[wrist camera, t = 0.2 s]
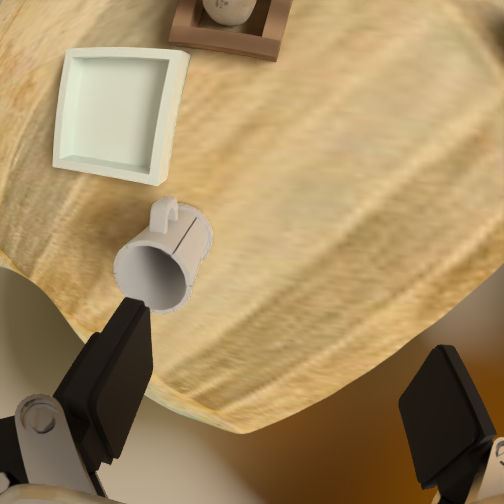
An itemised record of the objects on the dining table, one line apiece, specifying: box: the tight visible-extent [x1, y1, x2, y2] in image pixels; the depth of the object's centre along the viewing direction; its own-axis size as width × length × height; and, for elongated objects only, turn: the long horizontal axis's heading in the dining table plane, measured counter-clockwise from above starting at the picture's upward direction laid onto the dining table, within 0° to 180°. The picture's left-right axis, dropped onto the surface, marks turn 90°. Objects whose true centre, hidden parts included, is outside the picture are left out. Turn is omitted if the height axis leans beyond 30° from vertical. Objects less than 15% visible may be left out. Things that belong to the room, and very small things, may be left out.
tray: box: [53, 47, 191, 186], centre depth 33 cm, size 16×16×4 cm
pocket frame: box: [168, 0, 292, 62], centre depth 27 cm, size 12×12×4 cm
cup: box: [113, 196, 213, 314], centre depth 36 cm, size 10×9×12 cm
